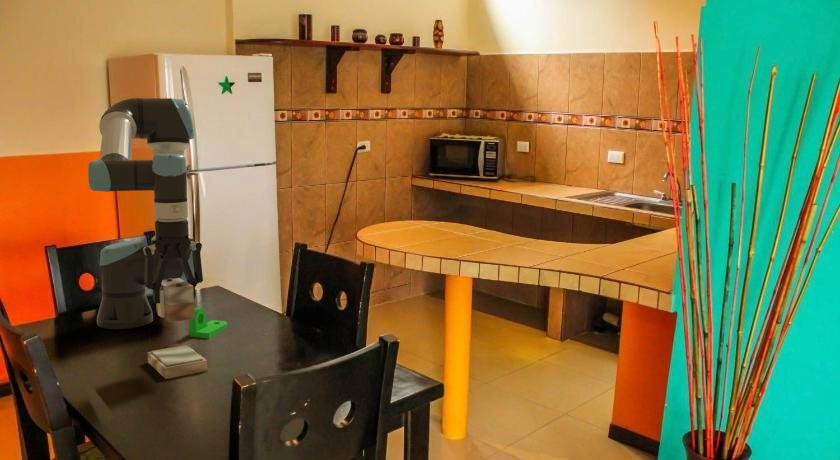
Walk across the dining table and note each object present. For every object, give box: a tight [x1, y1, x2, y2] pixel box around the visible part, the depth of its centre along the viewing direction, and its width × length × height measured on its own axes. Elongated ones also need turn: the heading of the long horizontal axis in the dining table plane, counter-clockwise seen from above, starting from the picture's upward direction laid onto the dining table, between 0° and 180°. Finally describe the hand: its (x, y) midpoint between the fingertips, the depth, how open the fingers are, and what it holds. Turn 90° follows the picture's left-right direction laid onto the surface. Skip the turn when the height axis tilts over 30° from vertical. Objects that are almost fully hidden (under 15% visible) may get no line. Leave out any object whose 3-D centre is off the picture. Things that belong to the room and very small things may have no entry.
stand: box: [147, 344, 208, 380], centre depth 181 cm, size 14×10×3 cm
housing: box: [155, 278, 195, 323], centre depth 178 cm, size 6×10×8 cm, turn 36°
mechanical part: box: [188, 307, 228, 339], centre depth 209 cm, size 12×6×8 cm, turn 165°
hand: (175, 313), depth 179 cm, fingers closed on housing, 6 cm apart
